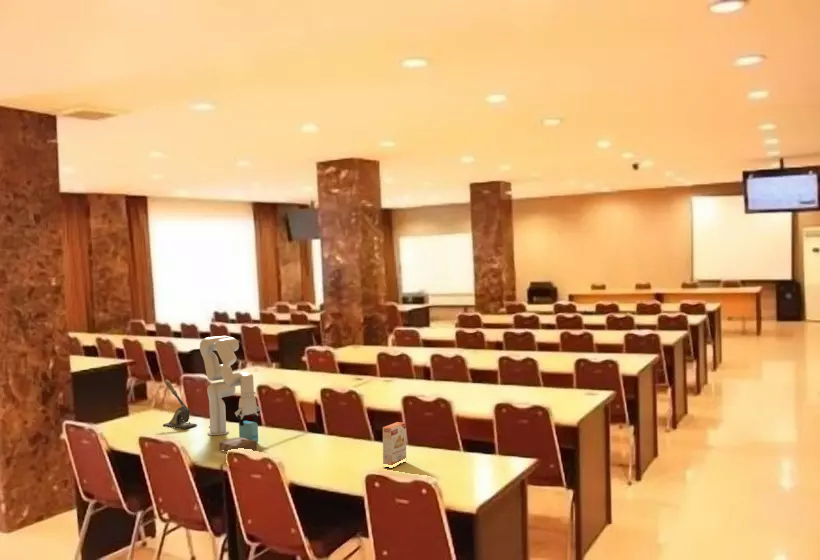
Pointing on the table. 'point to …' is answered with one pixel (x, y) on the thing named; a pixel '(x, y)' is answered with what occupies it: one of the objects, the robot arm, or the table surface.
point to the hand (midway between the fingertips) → (248, 424)
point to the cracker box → (394, 443)
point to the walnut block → (237, 444)
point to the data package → (249, 431)
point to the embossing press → (179, 412)
